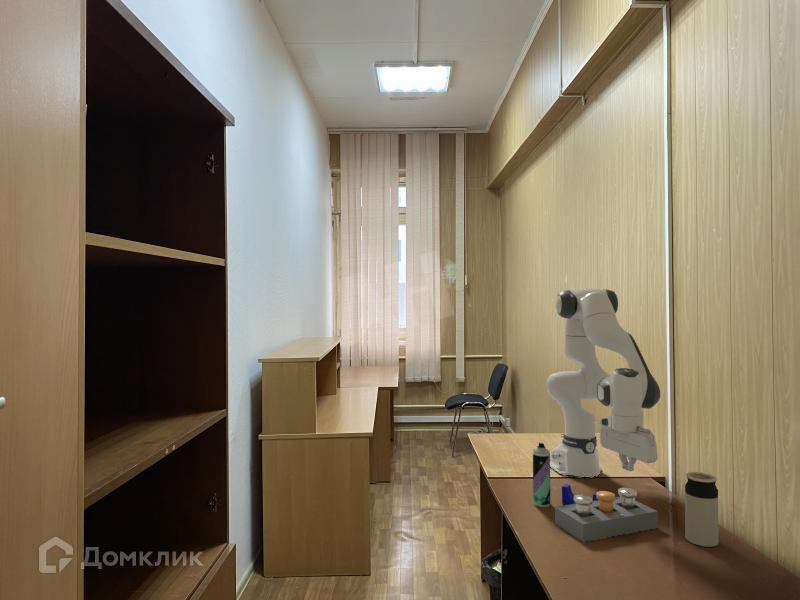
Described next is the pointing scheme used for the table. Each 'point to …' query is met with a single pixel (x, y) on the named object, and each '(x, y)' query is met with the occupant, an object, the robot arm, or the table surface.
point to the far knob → (627, 497)
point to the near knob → (583, 505)
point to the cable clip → (570, 495)
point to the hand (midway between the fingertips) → (627, 469)
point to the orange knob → (605, 501)
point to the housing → (606, 520)
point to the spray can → (541, 476)
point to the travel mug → (701, 509)
